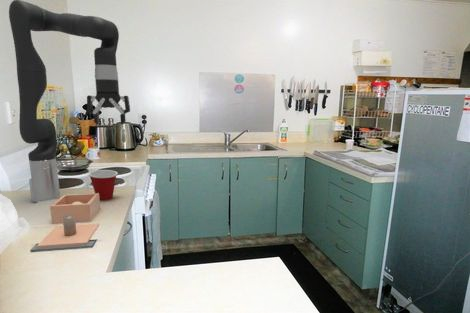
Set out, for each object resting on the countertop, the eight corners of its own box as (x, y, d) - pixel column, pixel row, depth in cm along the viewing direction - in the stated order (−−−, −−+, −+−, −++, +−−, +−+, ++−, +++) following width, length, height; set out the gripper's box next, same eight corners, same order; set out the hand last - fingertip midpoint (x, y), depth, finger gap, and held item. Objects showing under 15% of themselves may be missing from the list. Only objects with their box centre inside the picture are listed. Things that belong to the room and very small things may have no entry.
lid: (37, 248, 83) (34, 227, 82) (56, 228, 96) (53, 210, 94) (87, 244, 85) (85, 224, 84) (99, 226, 98) (97, 207, 97)
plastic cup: (109, 206, 117) (107, 176, 115) (85, 204, 119) (82, 174, 117) (124, 197, 128) (122, 170, 126) (102, 195, 130) (99, 168, 128)
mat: (30, 251, 82) (30, 249, 82) (51, 230, 96) (51, 228, 96) (92, 247, 85) (92, 245, 85) (104, 226, 99) (104, 225, 98)
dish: (52, 226, 99) (49, 206, 97) (65, 212, 110) (64, 194, 109) (91, 224, 101) (89, 204, 99) (100, 211, 112) (99, 193, 111)
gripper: (129, 79, 111) (132, 123, 115) (88, 79, 109) (92, 123, 112) (125, 78, 104) (128, 125, 107) (82, 77, 102) (86, 125, 105)
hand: (110, 124), depth 110 cm, fingers open, 8 cm apart
